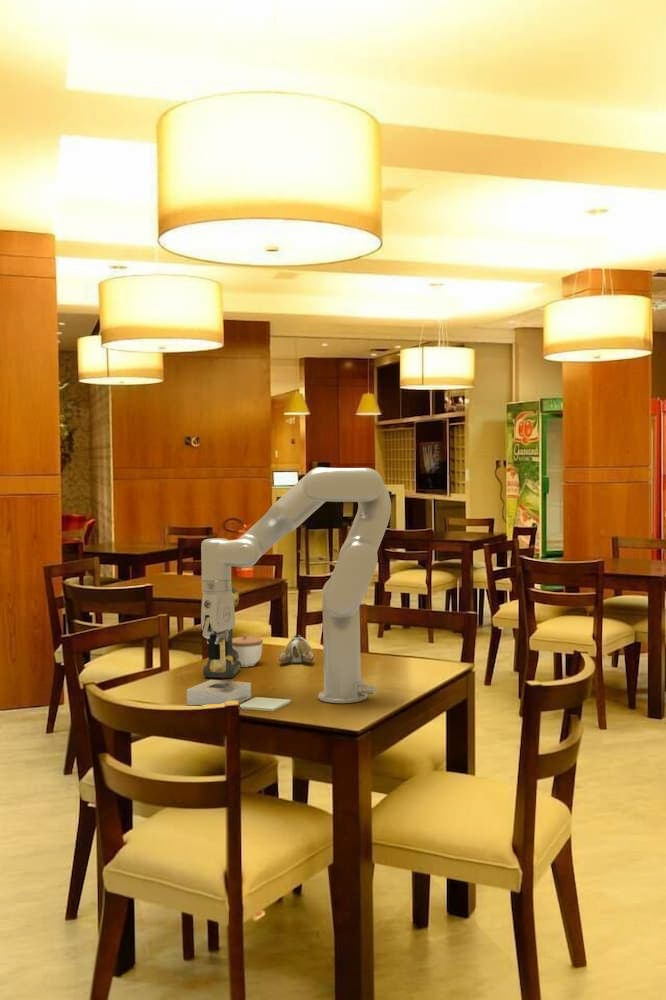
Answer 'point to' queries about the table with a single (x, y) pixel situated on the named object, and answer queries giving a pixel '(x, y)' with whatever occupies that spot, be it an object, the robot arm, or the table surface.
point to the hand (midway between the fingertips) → (218, 657)
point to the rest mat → (264, 704)
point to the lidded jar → (247, 649)
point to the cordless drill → (232, 655)
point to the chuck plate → (218, 692)
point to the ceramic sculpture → (297, 651)
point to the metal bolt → (221, 652)
